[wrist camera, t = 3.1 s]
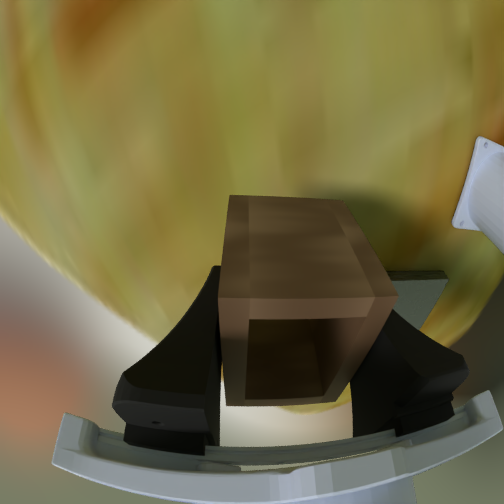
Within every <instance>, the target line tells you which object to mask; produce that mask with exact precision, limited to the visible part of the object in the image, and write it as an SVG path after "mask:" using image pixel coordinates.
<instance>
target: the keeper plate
mask: <svg viewBox="0 0 504 504" xmlns="http://www.w3.org/2000/svg"><path fill="white" fill-rule="evenodd" d="M386 273H387V274H388V276H389V278H390V280H391V282H392V284H393V286H394V287H395V289H396V291H397V293H398V295H399V297H398V299H397V301H396V303H395V305H394V307H393V309H394V310H395V311H396V312H397V313H398V314H399V315H400V316H401V317H403V318H404V319H405V320H406V321H407V322H409V323H410V324H411V325H412V326H414V327H415V328H416V329H418V330H419V329H420V328H421V326H422V325H423V323H424V322H425V320H426V318H427V317H428V315H429V314H430V312H431V310H432V309H433V307H434V305H435V303H436V302H437V300H438V298H439V297H440V295H441V293H442V291H443V289H444V288H445V286H446V284H447V282H448V280H449V278H448V277H447V275H446V274H445V273H444V271H395V272H386Z"/></svg>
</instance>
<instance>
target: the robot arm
mask: <svg viewBox="0 0 504 504" xmlns="http://www.w3.org/2000/svg"><path fill="white" fill-rule="evenodd" d="M484 144H485V146H484ZM460 222H461V223H460ZM452 225H453V226H454V227H455V228H461V229H470V230H478V231H482V232H483V233H484V234H485V235H486V236H487V237H488V238H489V239H490V240H491V241H492V242H493V243H494V244H495V245H496V247H497V248H498V249H499V250H500V251H501V252H502V253H503V254H504V147H503V146H501V145H499V144H497V143H495V142H492V141H490V140H488V139H486V138H484V137H481V136H479V137H478V138H477V139H476V143H475V147H474V151H473V155H472V159H471V163H470V167H469V171H468V174H467V178H466V181H465V184H464V187H463V191H462V194H461V197H460V200H459V203H458V206H457V209H456V211H455V214H454V217H453V219H452ZM220 272H221V266H213V267H212V269H211V272H210V274H209V276H208V278H207V280H206V282H205V284H204V286H203V287H202V289H201V291H200V292H199V294H198V296H197V297H196V299H195V300H194V302H193V303H192V305H191V306H190V308H189V309H188V311H187V312H186V313H185V315H184V316H183V317H182V319H181V320H180V321H179V322H178V323H177V325H176V326H175V327H174V328H173V329H172V330H171V331H170V333H169V334H168V335H167V336H166V337H165V338H164V339H163V340H162V341H161V342H160V343H159V344H158V345H157V346H156V347H154V348H153V349H152V350H151V351H150V352H149V353H148V354H147V355H145V356H144V357H143V358H142V359H141V360H139V361H138V362H137V363H135V364H134V365H133V366H131V367H130V368H128V369H127V370H126V371H124V372H123V373H122V375H121V378H120V380H119V382H118V385H117V387H116V391H115V395H114V399H113V403H112V407H113V409H114V410H115V412H116V413H117V414H118V415H119V416H120V417H121V418H122V419H123V420H124V421H125V422H126V427H125V433H124V434H122V433H118V432H114V431H109V430H106V429H102V428H99V427H98V425H97V424H95V423H94V422H92V421H90V420H88V419H85V418H82V417H78V416H75V415H72V414H69V413H64V415H63V418H62V422H61V426H60V429H59V433H58V437H57V441H56V446H55V450H54V454H53V459H52V464H53V465H55V466H57V467H59V468H61V469H63V470H66V471H69V472H71V473H73V474H75V475H78V476H80V477H83V478H86V479H88V480H92V481H94V482H97V483H100V484H104V485H107V486H110V487H113V488H117V489H120V490H124V491H128V492H132V493H136V494H140V495H145V496H150V497H154V498H160V499H165V500H171V501H178V502H186V503H194V504H417V501H416V495H415V489H414V483H413V478H412V476H415V475H417V474H420V473H422V472H425V471H427V470H430V469H432V468H434V467H437V466H439V465H441V464H443V463H445V462H447V461H449V460H451V459H453V458H456V457H458V456H459V455H461V454H463V453H465V452H467V451H469V450H471V449H473V448H474V447H476V446H478V445H480V444H481V443H483V442H485V441H486V440H488V439H489V438H491V437H492V436H494V435H495V434H497V433H499V432H500V431H502V430H503V426H502V423H501V420H500V417H499V414H498V411H497V409H496V406H495V404H494V401H493V398H492V396H491V393H490V391H489V390H488V391H485V392H483V393H481V394H479V395H476V396H475V397H473V398H472V399H470V400H469V401H468V402H467V403H466V404H465V405H463V406H461V407H458V408H456V409H453V407H452V404H451V401H452V400H453V395H452V392H453V391H454V390H455V389H456V388H457V387H458V386H459V385H461V383H463V382H464V380H465V379H466V378H467V377H468V375H469V369H468V366H467V364H466V362H465V360H464V358H463V356H462V355H460V354H458V353H456V352H454V351H452V350H450V349H448V348H446V347H444V346H443V345H441V344H439V343H437V342H436V341H434V340H432V339H431V338H429V337H428V336H426V335H425V334H423V333H422V332H421V331H419V330H418V329H416V328H415V327H414V326H412V325H411V324H410V323H409V322H407V321H406V320H405V319H404V318H403V317H401V316H400V315H399V314H398V313H397V312H396V311H395V310H394V309H392V311H391V313H390V315H389V316H388V318H387V320H386V322H385V324H384V326H383V328H382V329H381V331H380V333H379V335H378V336H377V338H376V340H375V342H374V343H373V345H372V347H371V348H370V350H369V352H368V353H367V355H366V357H365V358H364V360H363V362H362V363H361V365H360V366H359V368H358V369H357V371H356V373H355V374H354V376H353V377H352V379H351V380H350V388H351V398H352V413H353V438H349V439H343V440H337V441H330V442H322V443H313V444H304V445H292V446H275V447H222V446H220V390H221V366H222V351H221V338H220V324H219V308H218V291H219V281H220ZM378 449H379V450H378ZM374 450H377V451H375V452H371V453H367V454H362V455H357V456H353V457H347V458H342V459H336V460H329V461H324V462H318V463H313V464H308V465H304V466H297V467H288V468H279V469H268V470H255V471H241V468H240V467H239V466H233V465H279V464H293V463H304V462H313V461H321V460H328V459H334V458H340V457H346V456H351V455H356V454H361V453H366V452H370V451H374Z"/></svg>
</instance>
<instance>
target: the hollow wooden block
mask: <svg viewBox="0 0 504 504" xmlns="http://www.w3.org/2000/svg"><path fill="white" fill-rule="evenodd" d="M398 297H399V295H398V293H397V291H396V289H395V287H394V286H393V284H392V282H391V280H390V278H389V276H388V274H387V273H386V271H385V269H384V267H383V265H382V264H381V262H380V260H379V258H378V257H377V255H376V253H375V251H374V250H373V248H372V246H371V245H370V243H369V241H368V240H367V238H366V236H365V235H364V233H363V231H362V230H361V228H360V226H359V225H358V223H357V222H356V220H355V218H354V217H353V215H352V214H351V212H350V211H349V209H348V207H347V206H346V204H345V203H344V201H341V200H328V199H313V198H296V197H275V196H246V195H230V196H229V204H228V212H227V220H226V228H225V236H224V245H223V254H222V263H221V272H220V281H219V291H218V308H219V324H220V338H221V351H222V364H223V376H224V387H225V398H226V406H287V405H304V404H316V403H327V402H336V400H337V399H338V398H339V396H340V395H341V393H342V392H343V390H344V389H345V387H346V386H347V385H348V383H349V382H350V380H351V379H352V377H353V376H354V374H355V373H356V371H357V369H358V368H359V366H360V365H361V363H362V362H363V360H364V358H365V357H366V355H367V353H368V352H369V350H370V348H371V347H372V345H373V343H374V342H375V340H376V338H377V336H378V335H379V333H380V331H381V329H382V328H383V326H384V324H385V322H386V320H387V318H388V316H389V315H390V313H391V311H392V309H393V307H394V305H395V303H396V301H397V299H398Z"/></svg>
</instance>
